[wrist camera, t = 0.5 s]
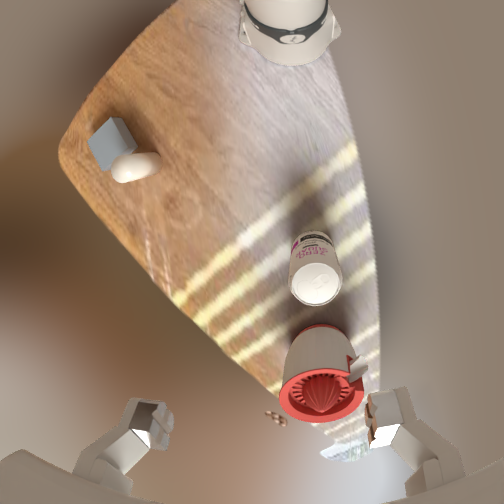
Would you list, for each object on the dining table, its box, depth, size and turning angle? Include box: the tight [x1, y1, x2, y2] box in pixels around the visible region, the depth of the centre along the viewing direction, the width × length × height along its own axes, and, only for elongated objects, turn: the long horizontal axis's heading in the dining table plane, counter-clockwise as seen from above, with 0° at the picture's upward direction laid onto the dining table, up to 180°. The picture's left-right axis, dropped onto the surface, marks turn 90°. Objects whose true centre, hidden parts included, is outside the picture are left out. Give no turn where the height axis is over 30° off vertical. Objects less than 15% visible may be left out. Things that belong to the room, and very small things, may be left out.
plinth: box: [87, 117, 138, 171], centre depth 52 cm, size 8×8×4 cm
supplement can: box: [288, 230, 343, 306], centre depth 48 cm, size 8×8×15 cm
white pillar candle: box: [111, 152, 162, 183], centre depth 49 cm, size 5×5×11 cm
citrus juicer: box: [279, 324, 368, 423], centre depth 53 cm, size 16×17×20 cm
